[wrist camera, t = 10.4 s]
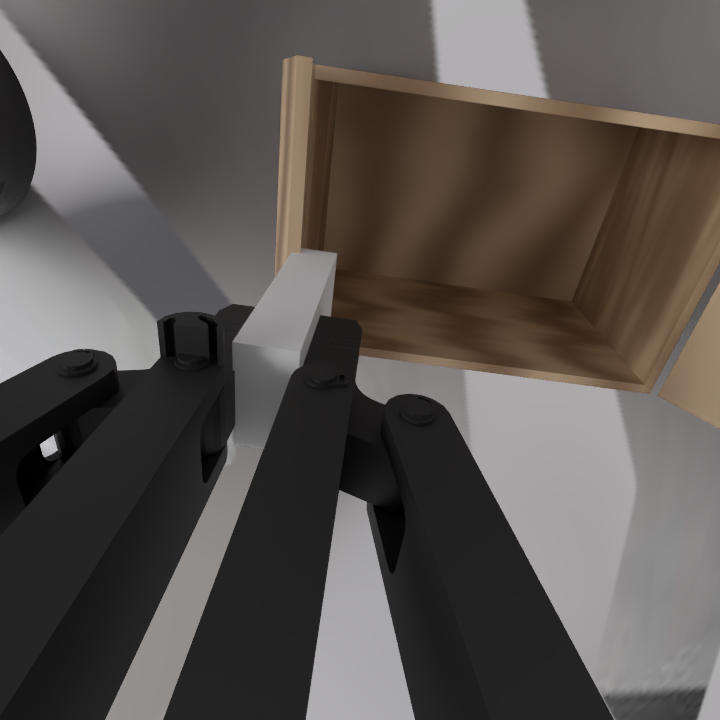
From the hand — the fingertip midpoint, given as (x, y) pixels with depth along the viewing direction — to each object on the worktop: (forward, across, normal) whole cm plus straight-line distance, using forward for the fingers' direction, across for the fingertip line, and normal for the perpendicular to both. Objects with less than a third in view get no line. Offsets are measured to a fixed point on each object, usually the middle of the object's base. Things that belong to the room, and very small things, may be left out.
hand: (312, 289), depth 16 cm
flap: (+3, -1, 0) cm, 4 cm away
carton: (+20, +8, 0) cm, 21 cm away
